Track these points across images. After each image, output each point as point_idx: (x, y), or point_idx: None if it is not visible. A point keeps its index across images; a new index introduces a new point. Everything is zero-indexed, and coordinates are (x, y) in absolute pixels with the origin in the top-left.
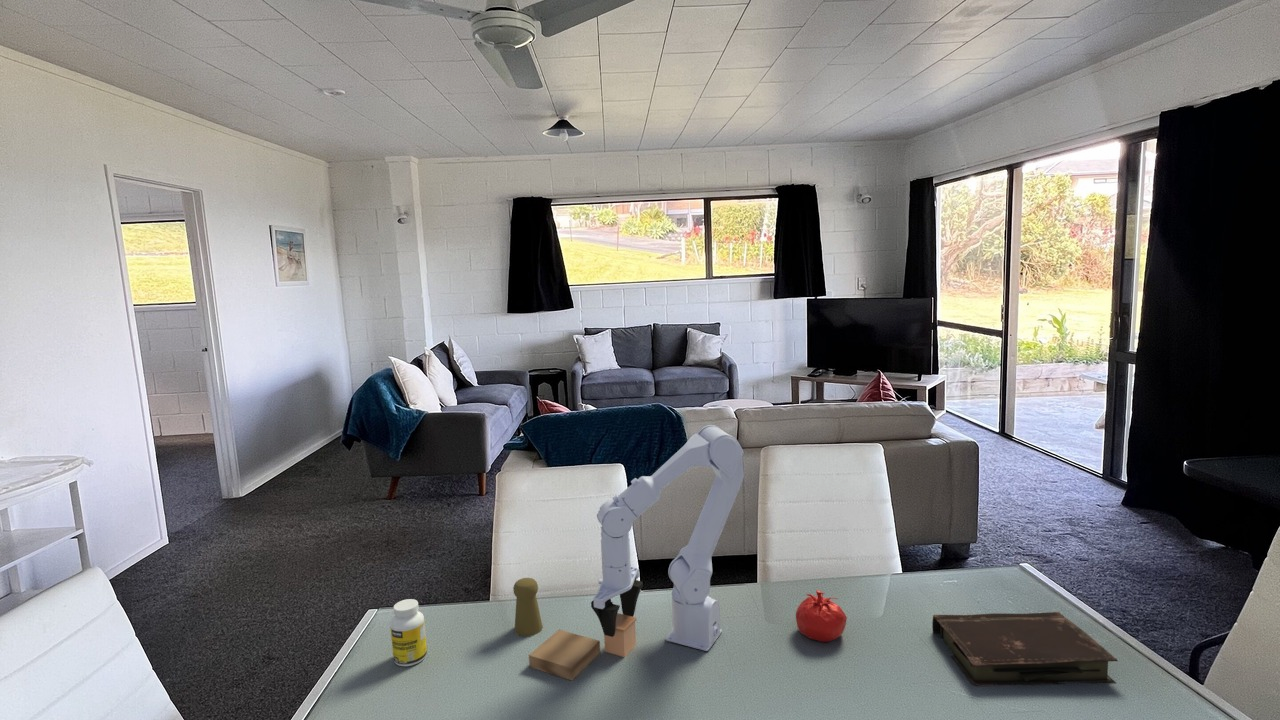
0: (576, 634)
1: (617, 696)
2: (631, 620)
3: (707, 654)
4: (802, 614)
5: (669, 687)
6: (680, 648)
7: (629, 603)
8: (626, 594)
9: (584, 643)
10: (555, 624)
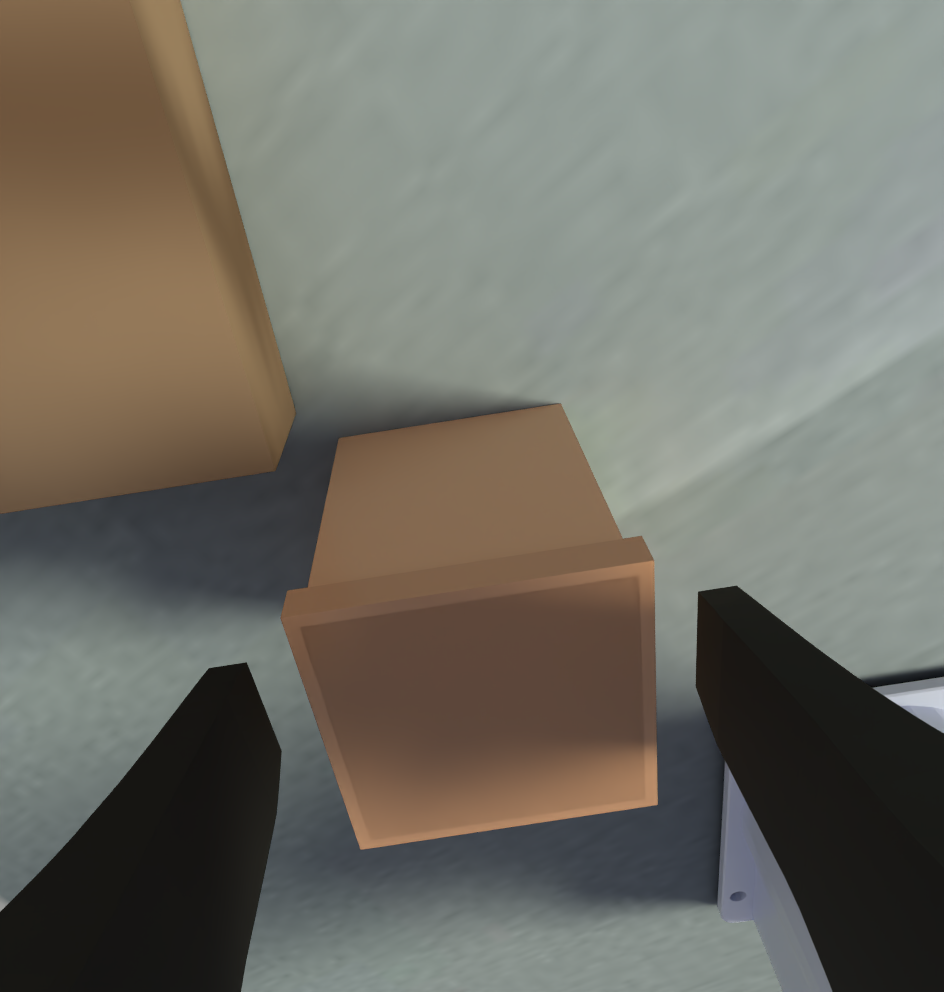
0: (157, 100)
1: (19, 812)
2: (579, 800)
3: (697, 912)
4: None
5: (314, 929)
6: (687, 803)
7: (788, 825)
8: (877, 943)
9: (101, 364)
10: None
